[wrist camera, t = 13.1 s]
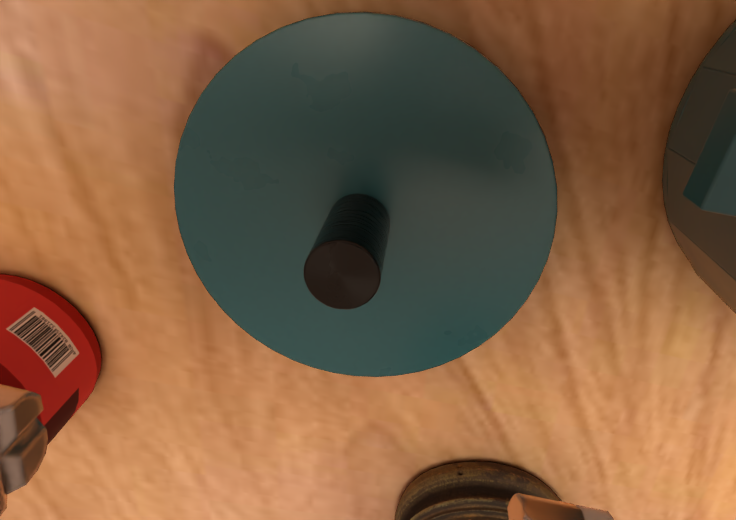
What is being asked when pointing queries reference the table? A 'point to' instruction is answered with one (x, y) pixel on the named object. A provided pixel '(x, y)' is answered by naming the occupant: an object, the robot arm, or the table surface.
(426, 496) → the container
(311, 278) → the lid
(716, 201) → the pot
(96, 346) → the canned food
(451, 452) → the table surface
